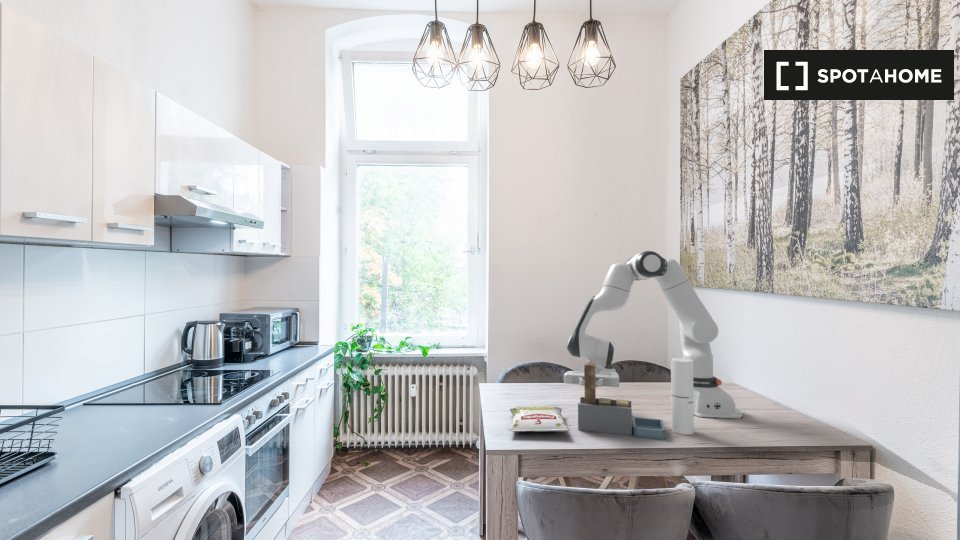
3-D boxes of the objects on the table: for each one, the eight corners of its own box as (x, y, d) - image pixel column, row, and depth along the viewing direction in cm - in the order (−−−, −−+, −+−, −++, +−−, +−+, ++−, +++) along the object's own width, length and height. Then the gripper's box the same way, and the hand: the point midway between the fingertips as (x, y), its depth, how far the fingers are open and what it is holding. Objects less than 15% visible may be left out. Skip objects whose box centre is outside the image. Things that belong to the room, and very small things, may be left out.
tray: (662, 428, 159) (662, 419, 159) (665, 439, 148) (665, 430, 148) (632, 425, 162) (632, 416, 162) (633, 436, 151) (633, 427, 151)
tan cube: (610, 409, 161) (610, 398, 161) (610, 413, 157) (610, 401, 157) (599, 408, 162) (599, 397, 162) (598, 412, 158) (598, 400, 158)
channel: (631, 425, 162) (631, 401, 162) (631, 435, 152) (631, 408, 152) (580, 420, 167) (580, 396, 167) (578, 429, 158) (578, 404, 158)
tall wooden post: (595, 406, 163) (595, 362, 163) (594, 410, 158) (594, 365, 159) (585, 405, 164) (585, 362, 164) (584, 409, 159) (584, 365, 160)
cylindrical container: (668, 427, 160) (667, 357, 160) (688, 427, 160) (687, 357, 160) (676, 434, 153) (675, 361, 153) (697, 434, 153) (696, 361, 153)
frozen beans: (562, 400, 173) (570, 421, 148) (562, 415, 173) (571, 438, 148) (508, 401, 175) (508, 422, 150) (509, 416, 175) (509, 439, 150)
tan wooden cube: (628, 411, 159) (628, 400, 159) (628, 414, 155) (628, 403, 155) (616, 410, 160) (616, 399, 160) (616, 413, 156) (616, 402, 157)
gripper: (565, 365, 177) (560, 373, 164) (619, 368, 171) (619, 376, 157) (565, 381, 177) (561, 390, 164) (619, 385, 171) (619, 394, 157)
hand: (589, 383), depth 161 cm, fingers closed on tall wooden post, 3 cm apart
